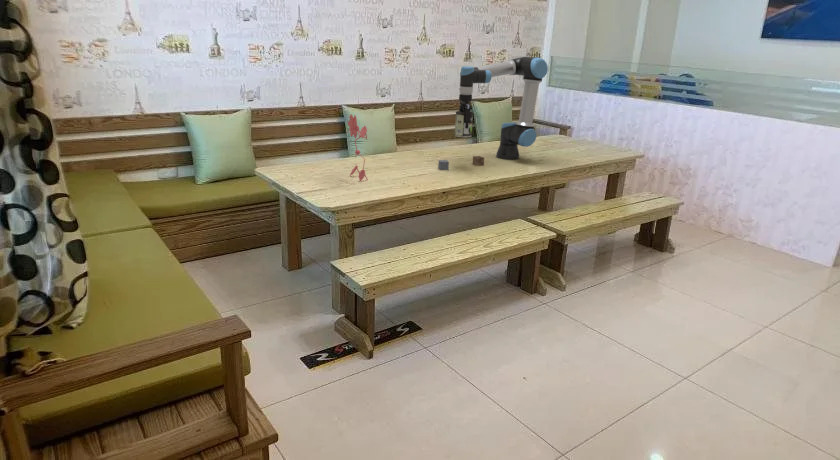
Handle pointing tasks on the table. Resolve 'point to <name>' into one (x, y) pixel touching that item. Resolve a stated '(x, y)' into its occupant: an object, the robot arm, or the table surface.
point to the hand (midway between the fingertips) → (463, 132)
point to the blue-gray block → (443, 165)
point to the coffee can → (462, 124)
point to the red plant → (353, 131)
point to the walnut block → (478, 160)
